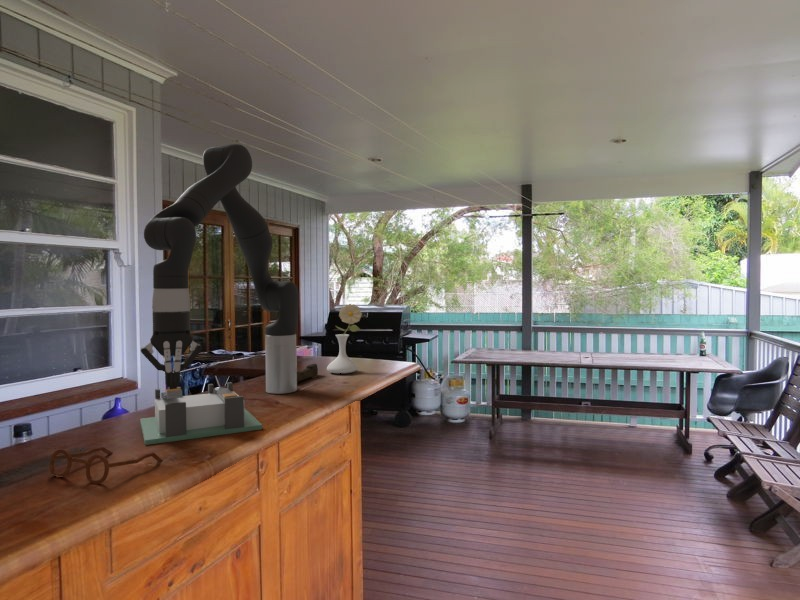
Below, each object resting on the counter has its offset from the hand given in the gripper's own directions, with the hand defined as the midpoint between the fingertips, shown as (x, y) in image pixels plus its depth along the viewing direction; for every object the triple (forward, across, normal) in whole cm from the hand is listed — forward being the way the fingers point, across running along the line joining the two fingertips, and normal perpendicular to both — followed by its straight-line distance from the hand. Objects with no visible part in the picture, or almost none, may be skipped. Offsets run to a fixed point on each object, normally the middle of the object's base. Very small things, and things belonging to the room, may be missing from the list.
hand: (172, 388), depth 117 cm
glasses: (+11, +12, +17) cm, 23 cm away
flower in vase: (+9, -62, -54) cm, 83 cm away
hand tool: (+10, -45, -48) cm, 67 cm away
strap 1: (+3, 0, -4) cm, 5 cm away
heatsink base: (+10, -6, -5) cm, 13 cm away
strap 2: (+5, -12, -4) cm, 14 cm away
